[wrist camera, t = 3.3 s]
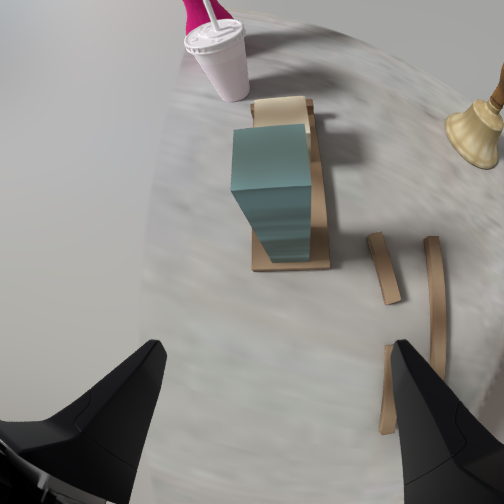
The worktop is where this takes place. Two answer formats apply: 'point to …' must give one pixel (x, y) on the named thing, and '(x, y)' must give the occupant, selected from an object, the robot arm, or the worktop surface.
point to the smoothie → (221, 55)
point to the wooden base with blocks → (282, 195)
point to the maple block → (282, 114)
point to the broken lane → (393, 295)
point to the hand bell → (478, 129)
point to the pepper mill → (202, 13)
